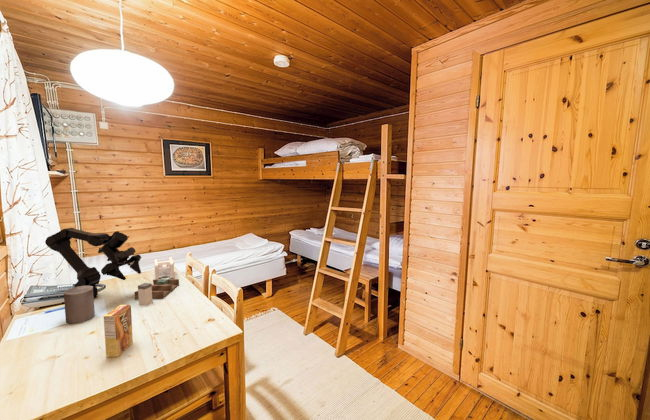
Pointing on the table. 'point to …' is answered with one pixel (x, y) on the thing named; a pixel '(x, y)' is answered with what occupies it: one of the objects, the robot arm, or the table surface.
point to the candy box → (118, 330)
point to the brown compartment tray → (161, 288)
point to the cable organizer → (164, 268)
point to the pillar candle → (79, 304)
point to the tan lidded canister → (145, 294)
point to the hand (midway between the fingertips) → (133, 276)
